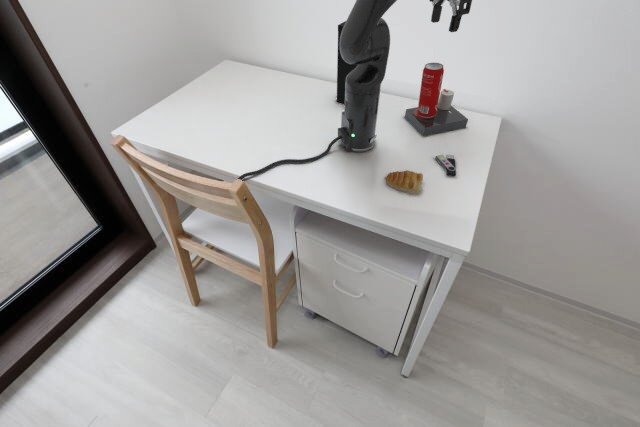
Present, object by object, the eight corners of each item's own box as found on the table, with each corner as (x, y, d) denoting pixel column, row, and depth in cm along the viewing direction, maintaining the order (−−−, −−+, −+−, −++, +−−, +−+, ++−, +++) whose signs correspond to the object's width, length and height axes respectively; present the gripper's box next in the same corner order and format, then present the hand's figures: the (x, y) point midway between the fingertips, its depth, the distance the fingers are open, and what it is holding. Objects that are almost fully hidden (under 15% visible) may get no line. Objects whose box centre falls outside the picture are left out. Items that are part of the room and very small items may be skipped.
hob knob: (452, 108, 108) (457, 93, 105) (442, 111, 108) (446, 95, 104) (445, 103, 111) (449, 87, 107) (434, 105, 110) (438, 90, 106)
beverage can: (436, 119, 104) (448, 70, 93) (414, 117, 105) (424, 69, 94) (435, 110, 108) (447, 62, 97) (414, 108, 109) (424, 60, 98)
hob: (423, 136, 103) (425, 127, 101) (402, 116, 112) (404, 107, 110) (468, 127, 106) (471, 118, 104) (445, 108, 115) (447, 99, 113)
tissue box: (355, 107, 116) (361, 16, 96) (336, 102, 119) (337, 12, 99) (366, 98, 121) (373, 9, 101) (347, 93, 124) (350, 6, 104)
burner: (419, 120, 104) (420, 120, 104) (409, 110, 108) (409, 109, 108) (439, 117, 105) (439, 116, 105) (428, 107, 110) (428, 106, 110)
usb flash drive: (455, 176, 89) (456, 173, 88) (434, 174, 90) (435, 171, 89) (454, 157, 95) (455, 154, 94) (434, 155, 96) (435, 152, 95)
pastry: (382, 190, 86) (384, 178, 83) (386, 174, 90) (388, 162, 88) (420, 196, 84) (423, 184, 81) (422, 179, 89) (425, 168, 86)
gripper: (494, -48, 73) (472, 33, 85) (457, -57, 83) (441, 17, 94) (465, -45, 72) (446, 37, 83) (430, -55, 81) (417, 20, 93)
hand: (443, 26), depth 89 cm, fingers open, 8 cm apart
